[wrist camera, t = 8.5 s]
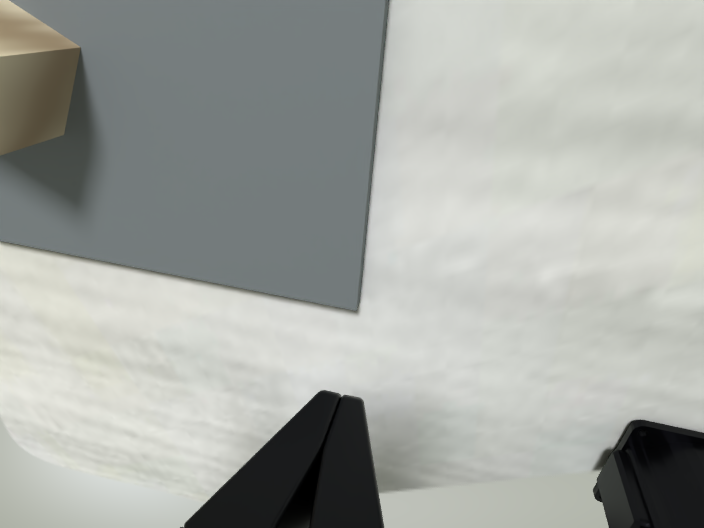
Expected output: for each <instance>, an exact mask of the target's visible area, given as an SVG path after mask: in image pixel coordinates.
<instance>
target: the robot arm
mask: <svg viewBox="0 0 704 528" xmlns="http://www.w3.org/2000/svg"><path fill="white" fill-rule="evenodd" d="M642 429H643V430H642ZM593 492H594V496H595V499H596V500H597V501H600V502H603V506H604V510H605V514H606V518H607V521H608V525H609V528H704V433H702V432H697V431H692V430H688V429H683V428H678V427H674V426H669V425H664V424H660V423H655V422H650V421H646V420H636V421H634V422H632V423H631V424H630V426H629V427H628V429H627V431H626V433H625V434H624V436H623V438H622V440H621V441H620V443H619V445H618V446H617V448H616V450H614V451H613V452H612V453H611V455H610V456H609V458H608V460H607V462H606V464H605V465H604V467H603V469H602V471H601V472H600V474H599V476H598V478H597V483H596V485H595V487H594V489H593ZM180 528H384V524H383V517H382V511H381V505H380V499H379V493H378V487H377V481H376V475H375V468H374V462H373V456H372V450H371V444H370V438H369V432H368V426H367V420H366V413H365V407H364V402H363V400H362V399H361V398H358V397H354V396H349V395H343V396H342V397H341V395H340V394H339V393H335V392H330V391H325V390H322V391H320V392H318V393H317V394H316V395H315V396H314V397H313V398H312V399H311V400H310V401H309V402H308V403H307V404H306V405H305V406H304V407H303V408H302V409H301V410H300V411H299V412H298V413H297V414H296V415H295V416H294V417H293V418H292V419H291V420H290V421H289V422H288V423H287V424H286V425H285V426H284V427H283V428H282V429H281V430H279V431H278V432H277V433H276V434H275V435H274V436H273V437H272V438H271V439H270V440H269V441H268V442H267V443H266V444H265V445H264V446H263V447H262V448H261V449H260V450H259V451H258V452H257V453H256V454H255V455H254V456H253V457H252V458H251V459H250V460H249V461H248V462H247V463H246V464H245V465H244V466H243V467H242V468H241V469H240V470H239V471H238V472H237V473H236V474H235V475H233V476H232V477H231V478H230V479H229V480H228V481H227V482H226V483H225V484H224V485H223V486H222V487H221V488H220V489H219V490H218V491H217V492H216V493H215V494H214V495H213V496H212V497H211V498H210V499H209V500H208V501H207V502H206V503H205V504H204V505H203V506H202V507H201V508H200V509H199V510H198V511H197V512H196V513H195V514H194V515H193V516H192V517H191V518H190V519H189V520H188V521H186V523H185V525H184V527H180Z"/></svg>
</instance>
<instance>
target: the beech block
mask: <svg viewBox="0 0 704 528" xmlns="http://www.w3.org/2000/svg"><path fill="white" fill-rule="evenodd" d="M80 49H81V47H80V46H78V45H77V44H75V43H74V42H72V41H70V40H69V39H67V38H66V37H64V36H63V35H61V34H60V33H58V32H57V31H55V30H54V29H52V28H51V27H49V26H47V25H46V24H44V23H43V22H41V21H40V20H38V19H37V18H35V17H34V16H32V15H31V14H29V13H28V12H26V11H25V10H23V9H21V8H20V7H18V6H17V5H15V4H14V3H12V2H11V1H9V0H0V156H1V155H4V154H7V153H10V152H13V151H16V150H19V149H22V148H25V147H28V146H31V145H34V144H37V143H40V142H44V141H47V140H50V139H53V138H56V137H59V136H62V135H64V132H65V127H66V122H67V116H68V111H69V106H70V101H71V96H72V90H73V85H74V80H75V75H76V70H77V64H78V59H79V54H80Z"/></svg>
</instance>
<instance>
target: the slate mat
mask: <svg viewBox="0 0 704 528" xmlns="http://www.w3.org/2000/svg"><path fill="white" fill-rule="evenodd" d="M9 1H11V2H12V3H14V4H15V5H17V6H18V7H20V8H21V9H23V10H25V11H26V12H28V13H29V14H31V15H32V16H34V17H35V18H37V19H38V20H40V21H41V22H43V23H44V24H46V25H47V26H49V27H51V28H52V29H54V30H55V31H57V32H58V33H60V34H61V35H63V36H64V37H66V38H67V39H69V40H70V41H72V42H74V43H75V44H77V45H78V46H80V47H81V49H80V54H79V59H78V64H77V70H76V75H75V80H74V85H73V90H72V96H71V101H70V106H69V111H68V116H67V122H66V127H65V132H64V135H62V136H59V137H56V138H53V139H50V140H47V141H44V142H40V143H37V144H34V145H31V146H28V147H25V148H22V149H19V150H16V151H13V152H10V153H7V154H4V155H1V156H0V241H3V242H8V243H13V244H18V245H24V246H29V247H34V248H39V249H44V250H49V251H54V252H59V253H64V254H69V255H74V256H80V257H85V258H90V259H95V260H100V261H105V262H110V263H115V264H120V265H125V266H130V267H136V268H141V269H146V270H151V271H156V272H161V273H166V274H171V275H176V276H181V277H186V278H192V279H197V280H202V281H207V282H212V283H217V284H222V285H227V286H232V287H237V288H242V289H248V290H253V291H258V292H263V293H268V294H273V295H278V296H283V297H288V298H293V299H298V300H304V301H309V302H314V303H319V304H324V305H329V306H334V307H339V308H344V309H349V310H354V311H356V310H357V308H358V305H359V302H360V293H361V283H362V272H363V262H364V252H365V241H366V231H367V221H368V211H369V200H370V190H371V180H372V169H373V159H374V149H375V139H376V128H377V118H378V108H379V97H380V87H381V77H382V67H383V56H384V46H385V36H386V25H387V15H388V5H389V0H9Z"/></svg>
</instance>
